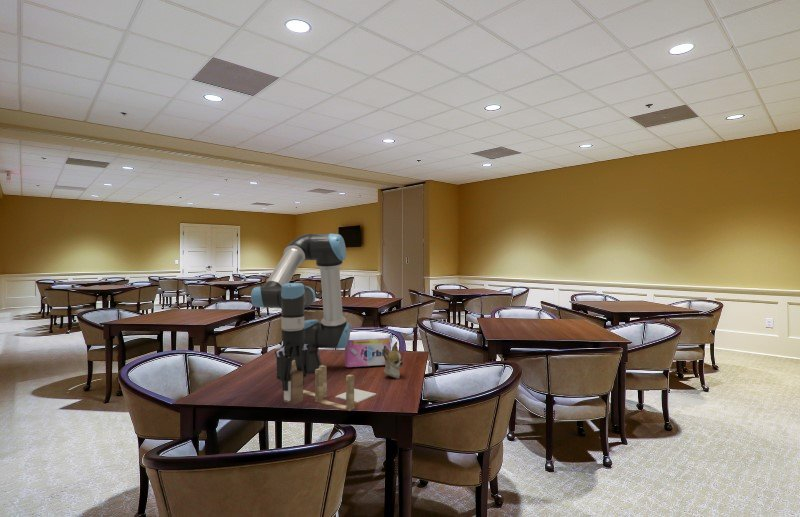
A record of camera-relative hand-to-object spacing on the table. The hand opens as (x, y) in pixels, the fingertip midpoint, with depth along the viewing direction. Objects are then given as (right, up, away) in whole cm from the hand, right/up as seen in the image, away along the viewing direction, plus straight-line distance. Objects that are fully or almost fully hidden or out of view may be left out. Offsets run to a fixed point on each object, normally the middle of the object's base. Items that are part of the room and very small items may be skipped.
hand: (293, 397), depth 143 cm
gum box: (+21, -5, +62) cm, 66 cm away
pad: (+19, -5, +18) cm, 27 cm away
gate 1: (+1, -5, +21) cm, 21 cm away
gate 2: (+13, -6, +8) cm, 16 cm away
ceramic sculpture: (+33, -5, +42) cm, 54 cm away
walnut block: (0, -1, 0) cm, 1 cm away
